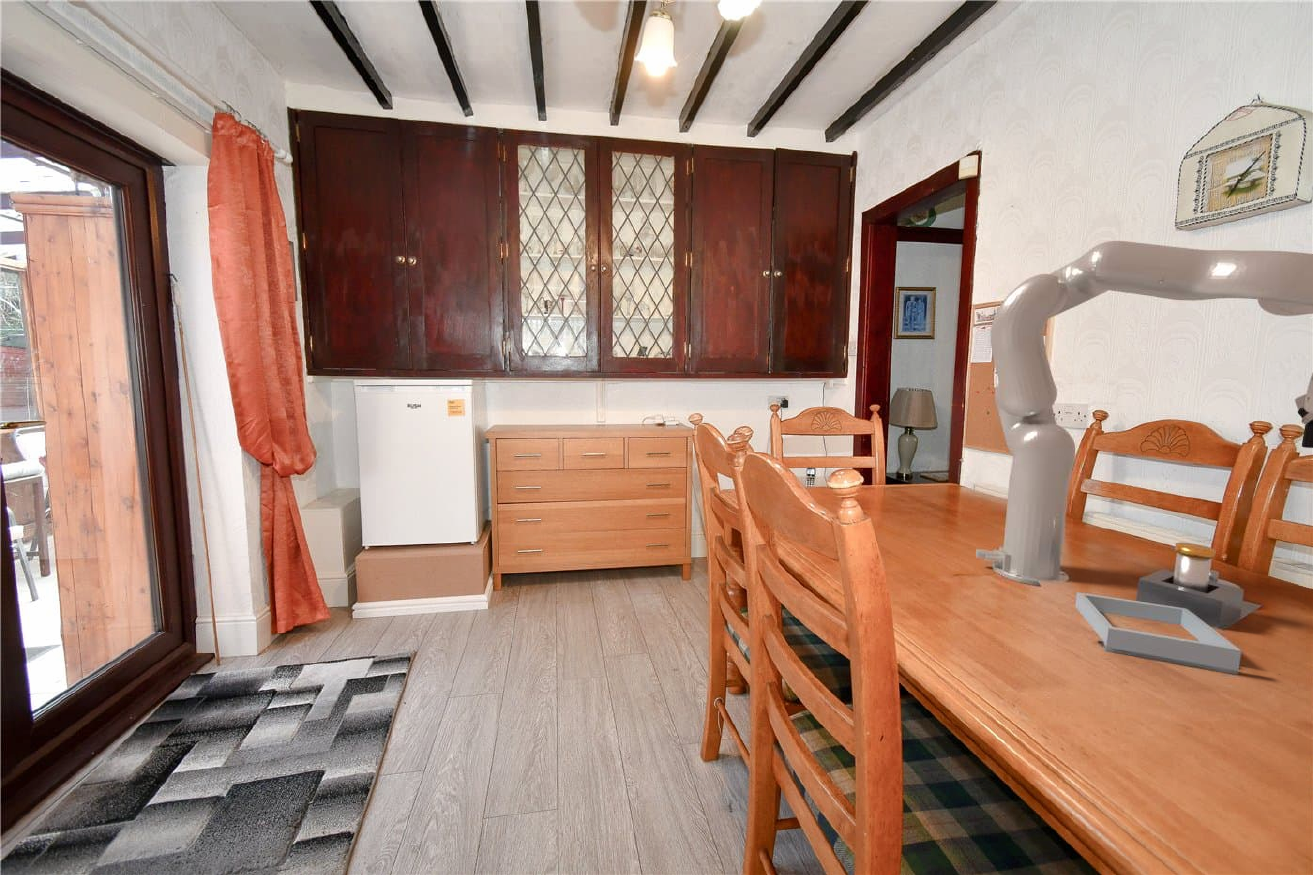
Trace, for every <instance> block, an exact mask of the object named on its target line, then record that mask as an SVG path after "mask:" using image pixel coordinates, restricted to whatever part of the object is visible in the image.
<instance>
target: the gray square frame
mask: <svg viewBox="0 0 1313 875" xmlns="http://www.w3.org/2000/svg"><path fill="white" fill-rule="evenodd" d="M1074 607H1075V608H1076V609H1077V611H1078V612H1079V613H1080V614H1081V615H1082V617H1083V618H1084V619H1085V620H1086V621H1087V623H1088V625H1090V627H1091V628H1092V629H1093V630H1094V631H1095V632H1096V634H1097V635H1098V636H1099V637H1100V639H1101V640H1102V641H1101V640H1097V642H1098V643H1099V644H1100V646H1101V647H1102V648H1103V649H1104V651H1105V652H1111V653H1116V654H1120V655H1127V656H1132V657H1138V658H1143V659H1148V660H1154V661H1159V662H1166V663H1170V664H1175V665H1181V666H1186V667H1190V668H1191V667H1192V668H1198V669H1203V670H1209V671H1212V672H1213V671H1214V672H1220V673H1224V674H1230V675H1236V676H1238V675H1239V668H1240V663H1241V655H1242V650H1241V648H1239V647H1237V646H1236V644H1235V645H1234V644H1233V643H1232V642H1231V641H1230V640H1228V638H1226V637H1224V636H1223V635H1221V634H1220V632H1218V631H1217V630H1215V628H1213V627H1210V626H1209V625H1207V624H1206V623H1205V622H1203V621H1202V620H1201V619H1200V618H1198V617H1197V616H1196V615H1194V614H1193V613H1192V612H1190V611H1189V610H1188V609H1186V608H1179V607H1173V606H1166V605H1159V604H1152V603H1146V602H1139V601H1136V600H1131V599H1124V598H1117V597H1111V596H1110V597H1109V596H1104V595H1097V594H1091V593H1085V592H1078V591H1077V592H1076V597H1075V605H1074ZM1102 613H1104V614H1109V615H1116V616H1123V617H1128V618H1136V619H1142V620H1147V621H1154V622H1161V623H1166V624H1174V625H1180V626H1182V628H1184V630H1186V631H1187V632H1188V633H1190V635H1192V636H1193V637H1194V638H1196V639H1197V640H1193V639H1188V638H1187V639H1186V638H1181V637H1175V636H1169V635H1163V634H1157V633H1150V632H1144V631H1138V630H1132V629H1126V628H1122V627H1120V628H1119V627H1115V626H1113V625H1112V624H1111V623H1110V622H1109V621H1108V619H1107V618H1106V617H1105V616H1104V615H1103V614H1102Z"/></svg>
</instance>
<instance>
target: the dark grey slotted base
mask: <svg viewBox="0 0 1313 875" xmlns="http://www.w3.org/2000/svg"><path fill="white" fill-rule="evenodd" d="M1174 572H1175V571H1172V570H1166V569H1163V568H1162V569H1160V570H1158V571H1155V572H1152V573H1150V574H1148V575H1146V576H1142V577H1140V578H1139V579H1138V583H1137V591H1136V599H1135V601H1139V602H1146V603H1152V604H1159V605H1166V606H1173V607H1179V608H1186V609H1188V610H1189V611H1190V612H1192V613H1193V614H1194V615H1196V616H1197V617H1198V618H1200V619H1201V620H1202V621H1203V622H1205V623H1206V624H1207V625H1209V626H1210V627H1211V628H1213V629H1217V630H1220V631H1224V630H1226V629H1228V628H1229V627H1231V626H1233V625H1235V624H1236V623H1237V622H1239V621H1240V620H1242V619H1244V618H1245V617H1247V616H1249V615H1250V614H1251V613H1253V612H1255V611H1256V610H1258V609H1260V608H1262V605H1261V604H1257V603H1253V602H1249V601H1246V600H1243V599H1244V592H1245V589H1243V588H1241V587H1240V586H1239V585H1237V584H1236V583H1233V582H1230V581H1228V580H1224V579H1221V578H1219V576H1220V575H1219V574H1220V572H1219V571H1216V570H1213V569H1210V574H1209V582H1208V589H1207V593H1204V592H1200V591H1196V590H1193V589H1189V588H1185V587H1181V586H1178V585H1174V584H1173V580H1174Z"/></svg>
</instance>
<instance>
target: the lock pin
mask: <svg viewBox="0 0 1313 875" xmlns="http://www.w3.org/2000/svg"><path fill="white" fill-rule="evenodd" d="M1216 551H1217V550H1216V549H1214V548H1213V547H1210V546H1206V545H1202V544H1197V543H1191V542H1176V543H1175V546H1174V552H1176V558H1175V564H1174V565H1175V567H1174V571H1173V572H1174V580H1173V584H1174V585H1178V586H1181V587H1185V588H1189V589H1193V590H1196V591H1200V592H1204V593H1207V589H1208V582H1209V574H1210V570H1211V567H1212V566H1211V565H1212V560H1214V559H1215V557H1216Z"/></svg>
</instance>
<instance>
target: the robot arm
mask: <svg viewBox="0 0 1313 875" xmlns="http://www.w3.org/2000/svg"><path fill="white" fill-rule="evenodd" d="M1108 291H1111V292H1112V291H1113V292H1117V293H1119V292H1120V293H1126V294H1135V295H1140V296H1141V295H1142V296H1147V297H1155V298H1160V299H1167V300H1172V301H1174V300H1175V301H1189V302H1190V301H1194V302H1195V301H1208V300H1219V299H1248V300H1257V302H1258V305H1259V307H1261V309H1263V311H1265V312H1267V313H1268V314H1272V315H1275V316H1281V317H1296V316H1304V315H1312V314H1313V253H1308V252H1295V251H1284V250H1283V251H1281V250H1236V249H1235V250H1234V249H1233V250H1232V249H1230V250H1229V249H1218V250H1215V249H1213V250H1212V249H1198V248H1196V249H1194V248H1189V247H1180V246H1179V247H1177V246H1170V245H1160V244H1152V243H1144V242H1135V241H1126V240H1109V241H1105V242H1101V243H1099V244H1097V245H1095V246H1094V247H1092V248H1091V249H1089V250H1088V251H1086V252H1085V253H1084V254H1083V255H1081V257H1079V258H1077V259H1075V260H1073V261H1072V262H1070V263H1068V264H1066V265H1064V266H1062V267H1060V268H1058V269H1056V270H1055V271H1053V272H1050V273H1042V274H1041V273H1040V274H1037V275H1034V276H1030V277H1029V278H1027V279H1025V280H1024V281H1023V282H1021V283H1020V284H1019V285H1018V286H1016V287H1015V288H1014V289H1013V290H1012V291H1011V292H1010V293H1009V294H1008V295H1007V296H1006V298H1004V300H1003V301H1002V302H1001V304H1000V305H999V307H998V308H997V311H996V313H995V316H994V318H993V321H992V324H991V329H990V344H991V345H990V346H991V353H992V357H993V361H994V366H995V367H994V368H995V370H996V376H997V381H998V383H997V385H996V388H995V391H994V392H995V394H994V397H995V404H996V408H997V413H998V416H999V420H1000V425H1001V427H1002V431H1003V435H1004V439H1005V443H1006V445H1007V448H1008V450H1009V452H1010V453H1011V455H1012V461H1011V462H1012V463H1011V469H1010V476H1009V481H1008V483H1009V484H1008V492H1007V503H1006V504H1007V506H1006V515H1005V526H1004V527H1005V528H1004V537H1003V538H1004V539H1003V546H999V549H994V550H987V549H983V548H976V549H975V550H976V551H975V557H976V559H982V560H983V559H984V562H989V563H992V570H993V571H994V572H995V573H996V574H998V575H999V574H1000V575H999V576H1001V575H1002V576H1001V577H1003V576H1004V578H1006V579H1009V580H1011V581H1015V582H1018V583H1021V584H1026V585H1031V586H1036V587H1037V586H1038V587H1042V585H1041V584H1040V582H1043V583H1063V582H1067V581H1068V580H1069V579H1070V577H1069V575H1068V574H1067V573H1066V572H1063V571H1062V570H1061V564H1062V555H1063V542H1064V534H1065V526H1066V525H1065V523H1066V516H1067V508H1068V507H1067V505H1068V494H1069V488H1070V481H1071V476H1072V473H1073V472H1072V471H1073V467H1074V463H1075V457H1076V444H1075V441H1074V439H1073V437H1072V434H1070V432H1068V431H1067V430H1066V429H1065V428H1063V427H1062V426H1060V425H1059V424H1057V420H1056V415H1055V413H1054V408H1053V406H1054V405H1055V402H1056V401H1057V397H1058V396H1057V395H1058V390H1057V386H1056V383H1055V381H1054V380H1055V379H1054V378H1053V374H1052V370H1051V366H1050V363H1049V359H1048V356H1047V352H1046V346H1045V339H1044V334H1045V333H1044V331H1045V327H1046V325H1047V322H1048V320H1049V319H1051V318H1053V317H1056V316H1058V315H1059V314H1062V313H1064V312H1066V311H1069V310H1071V309H1073V308H1075V307H1078V306H1079V305H1082V304H1084V303H1086V302H1088V301H1090V300H1092V299H1095V298H1096V297H1098V296H1100V295H1102V294H1104V293H1107V292H1108ZM1306 390H1307V391H1306V393H1305V394H1303V395H1300V396H1297V397H1296V398H1295V401H1294V402H1295V405H1296V407H1297V414H1298V415H1299V417H1301V423H1302V424H1303V425H1304V429H1303V433H1302V434H1303V435H1302V442H1301V447H1302V448H1305V449H1313V372H1312V374H1311V377H1310V379H1309V383H1308V386H1307V389H1306Z"/></svg>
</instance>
